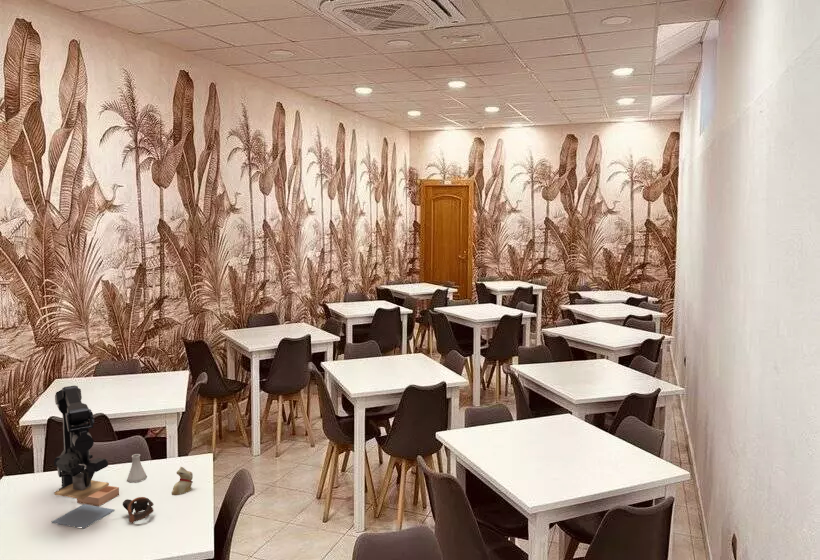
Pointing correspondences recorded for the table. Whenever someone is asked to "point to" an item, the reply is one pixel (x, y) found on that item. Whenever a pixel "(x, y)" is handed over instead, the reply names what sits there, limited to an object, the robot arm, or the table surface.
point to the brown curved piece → (138, 508)
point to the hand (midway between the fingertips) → (82, 485)
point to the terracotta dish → (100, 496)
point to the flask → (136, 470)
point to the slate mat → (83, 516)
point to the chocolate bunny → (183, 482)
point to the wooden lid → (81, 488)
